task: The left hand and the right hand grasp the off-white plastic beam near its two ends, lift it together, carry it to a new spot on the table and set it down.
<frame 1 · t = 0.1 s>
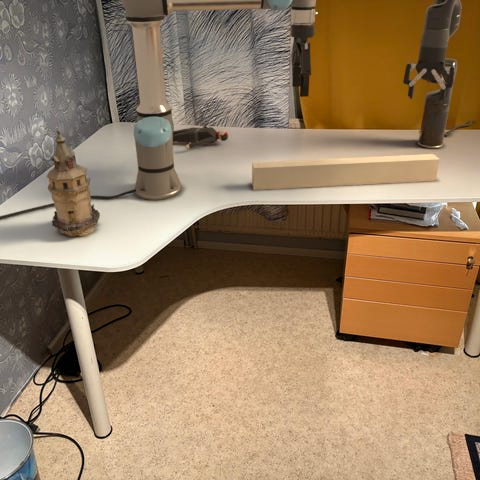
left hand: (300, 91, 180), 28 cm above the table, tool pointing down, fingers open, 13 cm apart
right hand: (425, 99, 164), 29 cm above the table, tool pointing down, fingers open, 8 cm apart
toy: (192, 142, 220), on the table
beam: (343, 182, 182), on the table
miniature building: (78, 229, 156), on the table
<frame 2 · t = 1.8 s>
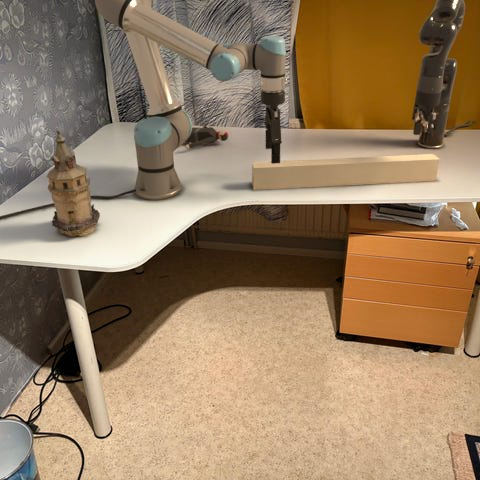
left hand: (272, 155, 175), 11 cm above the table, tool pointing down, fingers open, 13 cm apart
right hand: (421, 138, 177), 14 cm above the table, tool pointing down, fingers open, 8 cm apart
nothing on the table moved.
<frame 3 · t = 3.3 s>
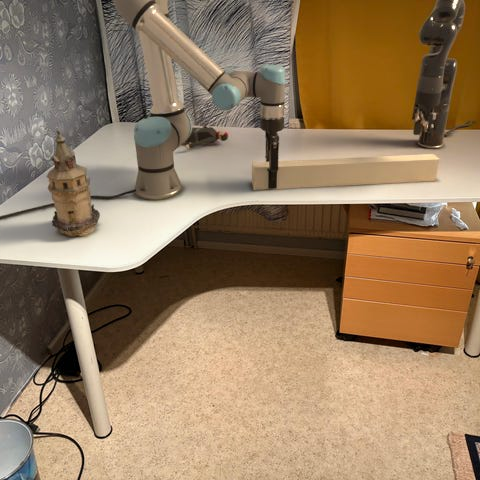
left hand: (271, 184, 180), 1 cm above the table, tool pointing down, fingers closed on beam, 5 cm apart
right hand: (421, 138, 177), 14 cm above the table, tool pointing down, fingers open, 8 cm apart
beam: (343, 182, 182), on the table, touching left hand
everything else where it was.
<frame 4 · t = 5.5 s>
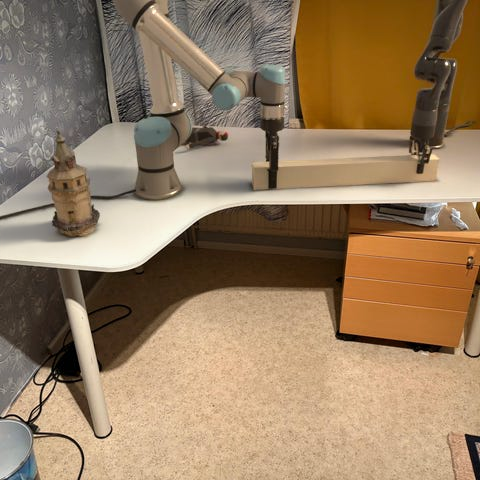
left hand: (271, 184, 180), 1 cm above the table, tool pointing down, fingers closed on beam, 5 cm apart
right hand: (416, 170, 183), 3 cm above the table, tool pointing down, fingers closed on beam, 5 cm apart
beam: (343, 182, 182), on the table, touching left hand, right hand
everything else where it was.
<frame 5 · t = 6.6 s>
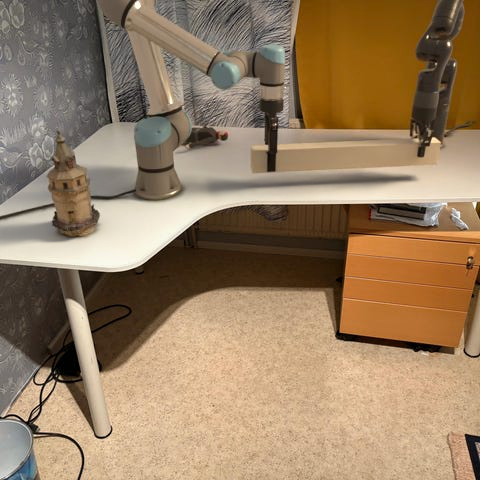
left hand: (270, 167, 178), 6 cm above the table, tool pointing down, fingers closed on beam, 5 cm apart
right hand: (417, 153, 180), 9 cm above the table, tool pointing down, fingers closed on beam, 5 cm apart
beam: (343, 166, 180), point 6 cm above the table, touching left hand, right hand
everything else where it was.
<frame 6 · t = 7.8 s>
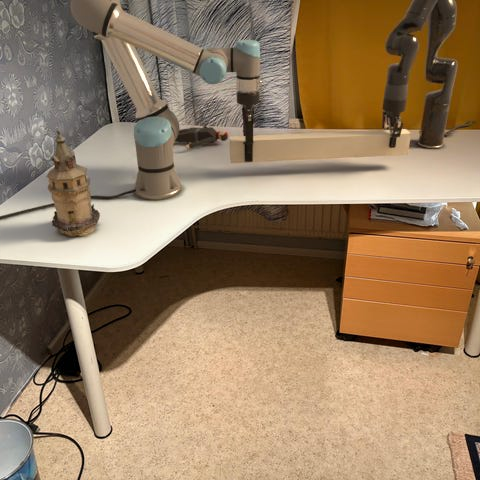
left hand: (247, 158, 186), 6 cm above the table, tool pointing down, fingers closed on beam, 5 cm apart
right hand: (389, 144, 189), 9 cm above the table, tool pointing down, fingers closed on beam, 5 cm apart
beam: (319, 156, 188), point 6 cm above the table, touching left hand, right hand
everything else where it was.
when the left hand's fingers open (2 cm above the table, at t = 10.1 s): beam stays where it is, on the table.
when the right hand's fingers open (4 cm above the table, at t = 10.2 s): beam stays where it is, on the table.
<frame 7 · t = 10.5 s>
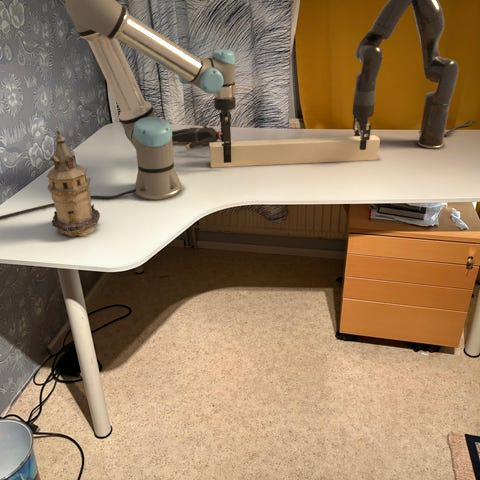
left hand: (226, 156, 197), 3 cm above the table, tool pointing down, fingers open, 11 cm apart
right hand: (359, 146, 200), 5 cm above the table, tool pointing down, fingers open, 7 cm apart
beam: (294, 161, 200), on the table
everything else where it was.
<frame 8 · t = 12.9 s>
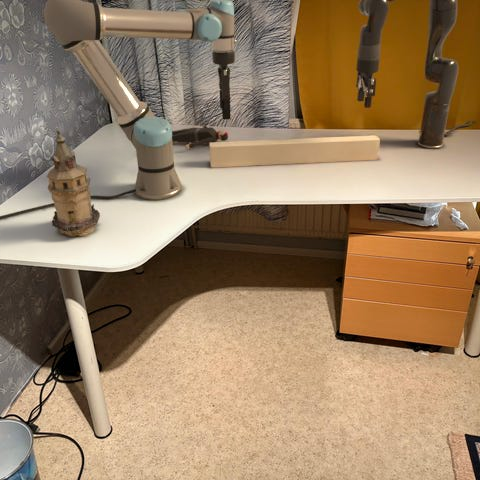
left hand: (225, 113, 189), 19 cm above the table, tool pointing down, fingers open, 13 cm apart
right hand: (363, 104, 192), 20 cm above the table, tool pointing down, fingers open, 8 cm apart
nothing on the table moved.
at the end: beam inside the target area (0.3 cm from its centre), on the table; beam tilted 0°; beam never tilted more than 1° during the clip; both hands held the beam at the same time; the left hand is holding nothing; the right hand is holding nothing; beam at rest at the end (0.0 cm/s) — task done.
